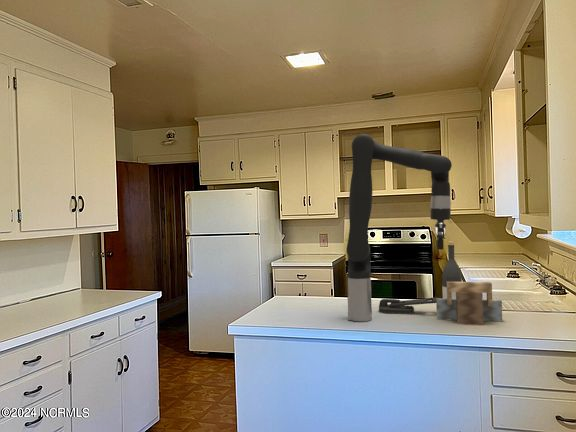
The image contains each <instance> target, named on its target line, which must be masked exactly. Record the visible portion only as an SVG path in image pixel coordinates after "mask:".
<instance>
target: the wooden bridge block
mask: <svg viewBox="0 0 576 432" xmlns="http://www.w3.org/2000/svg"><path fill="white" fill-rule="evenodd" d="M451 292H475V293H485V294H486V300H487V305H488V306H492V300H493V283H492V282H491V281H462V282H450V281H447V304H448V305H452V296H451Z"/></svg>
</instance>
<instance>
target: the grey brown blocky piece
mask: <svg viewBox="0 0 576 432" xmlns="http://www.w3.org/2000/svg"><path fill="white" fill-rule="evenodd" d="M435 304H436V320H445V319H454V320H453V321H457V325H475V324H480V325H479V326H483V325H484V322H496V321H502V322H503V300H501V299H492V306H488V305H487V299H484V297H483V293H475V292H456V299H452V305H448V304H447V299H443V298H441V297H439V298H438V297H437V298H436V303H435Z"/></svg>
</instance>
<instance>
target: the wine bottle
mask: <svg viewBox="0 0 576 432" xmlns="http://www.w3.org/2000/svg"><path fill="white" fill-rule="evenodd" d="M447 250H448V251H447V252H448V259H447V261H446V263H445V265H444V267H443V270H442V275H441V282H442V285H441V286H442V299H447V281H450V282H463V275H462V271H461V269H460V265H458V263H457V261H456V259H455V243H454V241H450V240H449V241H448V244H447ZM451 296H452V299H456V292H451Z"/></svg>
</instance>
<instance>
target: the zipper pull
mask: <svg viewBox="0 0 576 432" xmlns="http://www.w3.org/2000/svg"><path fill="white" fill-rule="evenodd" d="M436 298H438V296H436V297H428V298H417V299H408V300H407V299H406V300H400V299H396V298H395V299H394V298H382V299H380V300H379V305H378V312H379V313H380V314H385V315H386V314H387V315H412V313H413V314H414V313H415V307H414V306H415V305H417V306H418V305H429V304H436ZM389 303H390V304H389Z"/></svg>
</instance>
